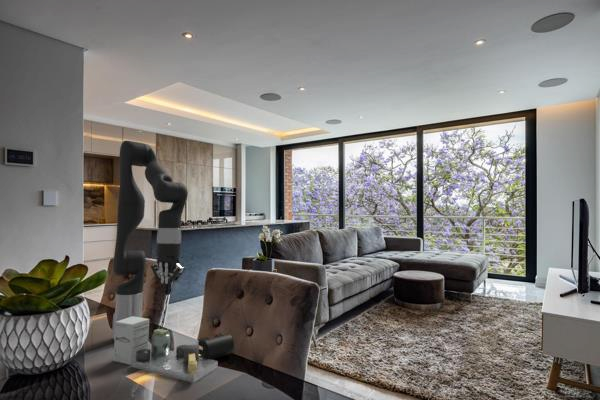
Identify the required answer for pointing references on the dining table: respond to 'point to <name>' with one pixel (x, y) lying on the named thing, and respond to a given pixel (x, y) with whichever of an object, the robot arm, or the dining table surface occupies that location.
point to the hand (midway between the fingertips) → (166, 294)
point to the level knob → (191, 357)
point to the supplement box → (130, 338)
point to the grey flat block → (170, 360)
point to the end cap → (216, 346)
